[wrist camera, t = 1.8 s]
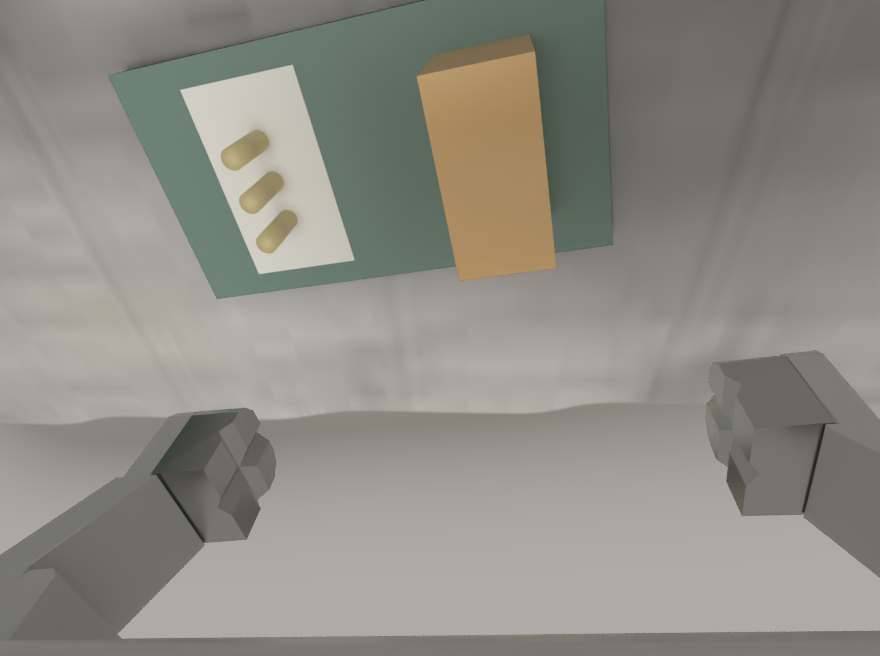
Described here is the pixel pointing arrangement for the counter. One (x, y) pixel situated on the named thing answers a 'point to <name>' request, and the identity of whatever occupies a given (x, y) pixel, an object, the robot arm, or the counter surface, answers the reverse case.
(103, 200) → the counter surface
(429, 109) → the block
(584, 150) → the board
